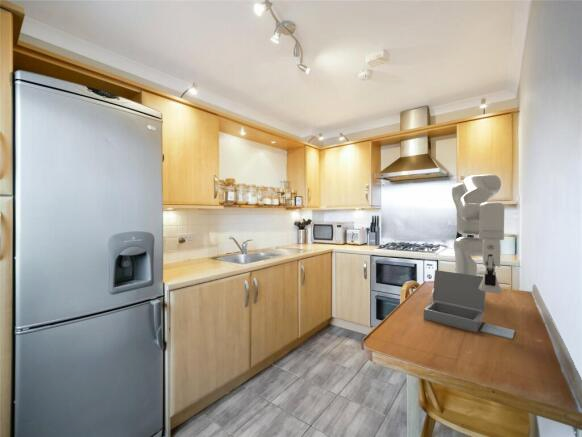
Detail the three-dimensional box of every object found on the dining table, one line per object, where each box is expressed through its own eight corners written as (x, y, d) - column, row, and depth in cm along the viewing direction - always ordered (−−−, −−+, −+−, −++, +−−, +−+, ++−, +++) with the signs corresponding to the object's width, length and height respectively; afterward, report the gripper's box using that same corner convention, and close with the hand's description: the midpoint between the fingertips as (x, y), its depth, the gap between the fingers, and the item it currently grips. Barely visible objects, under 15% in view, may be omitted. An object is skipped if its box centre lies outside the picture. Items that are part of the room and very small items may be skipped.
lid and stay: (434, 301, 122) (434, 269, 122) (485, 312, 108) (486, 276, 108) (428, 306, 115) (428, 272, 115) (482, 318, 102) (482, 280, 102)
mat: (484, 324, 104) (484, 323, 104) (514, 331, 97) (514, 330, 97) (480, 331, 97) (480, 330, 97) (512, 339, 91) (512, 338, 91)
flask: (478, 287, 104) (478, 262, 104) (501, 290, 100) (502, 264, 100) (477, 291, 98) (478, 264, 98) (502, 295, 94) (503, 267, 94)
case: (434, 309, 119) (434, 299, 119) (483, 321, 107) (483, 309, 107) (423, 318, 109) (423, 307, 109) (476, 332, 96) (476, 319, 96)
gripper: (504, 237, 90) (503, 290, 90) (503, 234, 103) (502, 281, 103) (477, 236, 94) (476, 286, 95) (479, 233, 108) (479, 278, 108)
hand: (490, 283), depth 99 cm, fingers closed on flask, 4 cm apart
